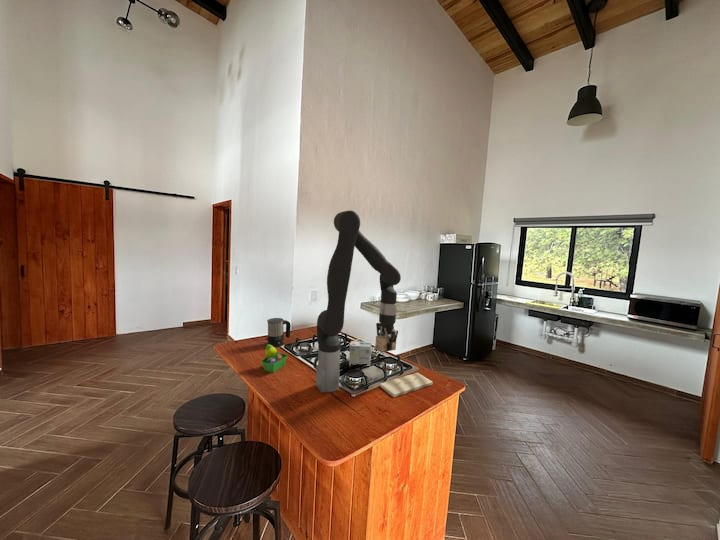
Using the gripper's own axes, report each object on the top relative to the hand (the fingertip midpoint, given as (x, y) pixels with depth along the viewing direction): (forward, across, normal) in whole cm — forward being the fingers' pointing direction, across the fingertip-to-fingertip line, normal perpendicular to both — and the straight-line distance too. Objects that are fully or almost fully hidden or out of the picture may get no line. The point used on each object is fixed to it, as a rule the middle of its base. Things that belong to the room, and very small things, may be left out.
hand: (385, 348), depth 133 cm
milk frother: (+15, -65, -33) cm, 75 cm away
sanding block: (+1, 0, 0) cm, 1 cm away
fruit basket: (+15, -33, -42) cm, 55 cm away
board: (+14, +11, +4) cm, 18 cm away
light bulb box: (+14, -17, -2) cm, 22 cm away
